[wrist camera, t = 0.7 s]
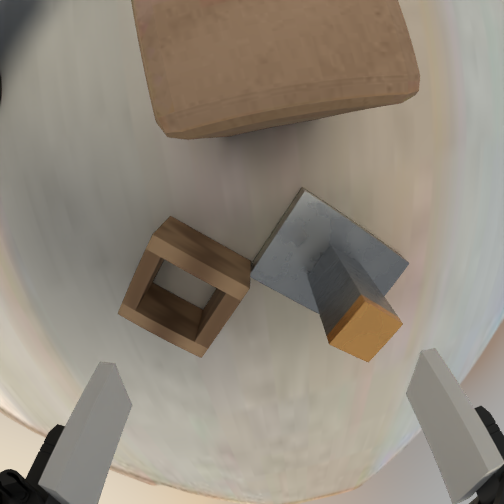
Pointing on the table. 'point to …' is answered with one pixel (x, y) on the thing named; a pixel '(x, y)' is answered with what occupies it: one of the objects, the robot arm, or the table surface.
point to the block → (270, 61)
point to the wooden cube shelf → (173, 307)
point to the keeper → (333, 274)
